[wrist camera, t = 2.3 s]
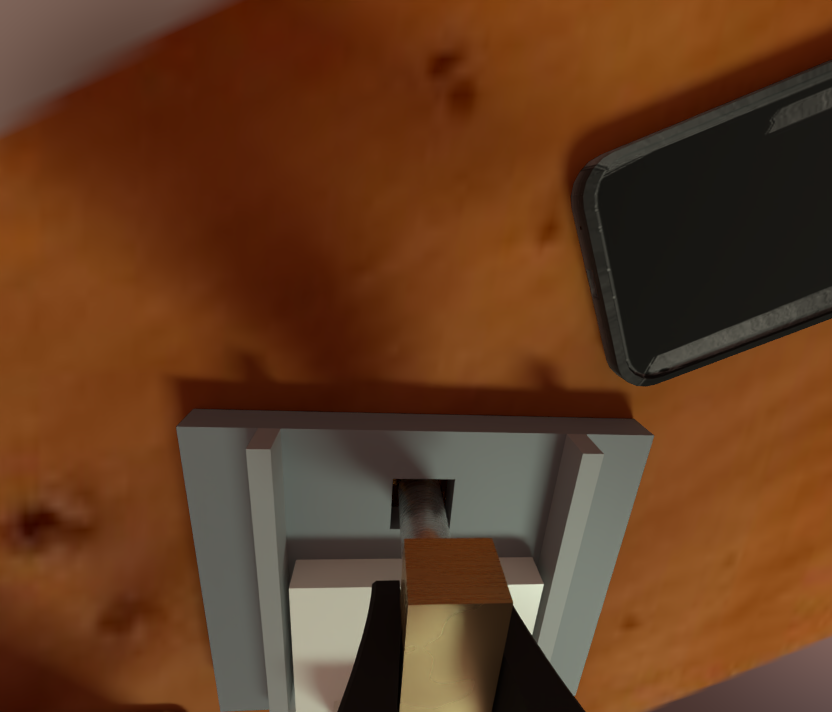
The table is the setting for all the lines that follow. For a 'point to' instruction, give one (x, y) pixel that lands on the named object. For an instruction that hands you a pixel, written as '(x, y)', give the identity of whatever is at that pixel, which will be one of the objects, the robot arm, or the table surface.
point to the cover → (360, 618)
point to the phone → (712, 231)
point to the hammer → (447, 609)
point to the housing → (396, 517)
